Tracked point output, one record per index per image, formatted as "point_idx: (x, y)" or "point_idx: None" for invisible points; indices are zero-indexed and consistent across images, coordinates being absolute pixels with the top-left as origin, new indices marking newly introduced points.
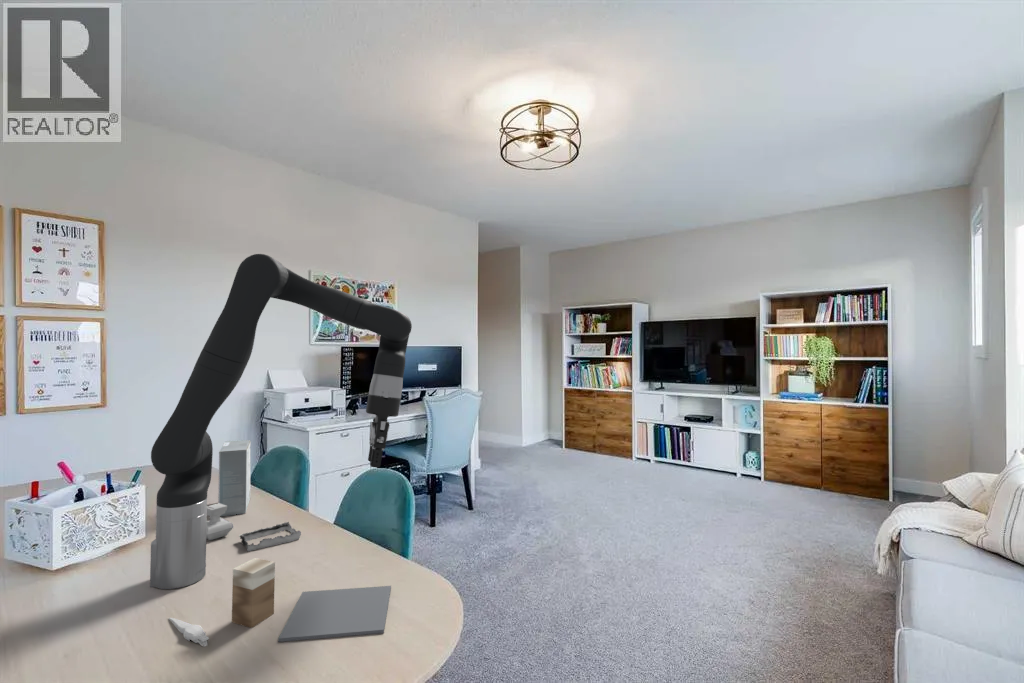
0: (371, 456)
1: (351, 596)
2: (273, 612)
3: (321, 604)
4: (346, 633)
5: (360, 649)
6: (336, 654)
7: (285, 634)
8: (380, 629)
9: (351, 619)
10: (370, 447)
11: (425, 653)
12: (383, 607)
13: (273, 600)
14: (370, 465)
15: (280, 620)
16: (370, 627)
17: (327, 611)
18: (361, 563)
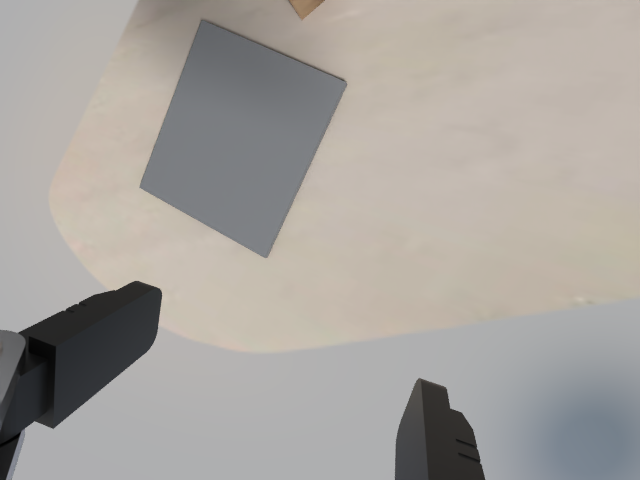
0: (414, 421)
1: (267, 172)
2: (300, 17)
3: (270, 109)
4: (161, 130)
5: (124, 141)
6: (131, 105)
7: (206, 32)
8: (142, 182)
9: (192, 148)
10: (426, 475)
11: (75, 221)
12: (198, 212)
13: (291, 3)
14: (137, 281)
15: (270, 31)
16: (154, 170)
17: (239, 115)
18: (426, 248)
